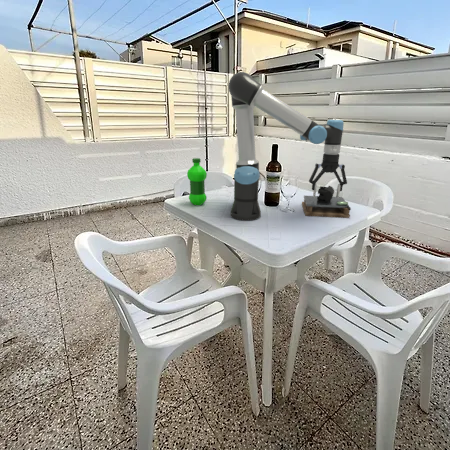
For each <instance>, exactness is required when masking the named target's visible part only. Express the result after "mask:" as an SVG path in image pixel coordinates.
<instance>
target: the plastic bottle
mask: <svg viewBox="0 0 450 450" xmlns="http://www.w3.org/2000/svg"><path fill="white" fill-rule="evenodd" d="M201 161H202V160H201V158H199V157H194V158H192V164H193V165H192V166H191V167H190V168H189V169H188V170H187V171H186V174H187V175H186V176H187V178H188V180H189V190H190V193H189V195H188V200H189V202H190V203H191V204H192V205H194V206H202V205H203V204H204V203H205V202H206V201H207V195H206V193H205V192H206V190H205V189H206V188H205V185H206V184H205V181H206V179H207V176H208V175H207V171H206V169H205V168H203V167H202V166H201V165H200V163H201Z"/></svg>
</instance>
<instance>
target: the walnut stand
mask: <svg viewBox="0 0 450 450" xmlns="http://www.w3.org/2000/svg"><path fill="white" fill-rule="evenodd" d="M301 206H302V207H301V208H302V210H303V214H304V215H305V217H318V218H319V217H322V218H338V219H339V218H341V219H342V218H343V219H350V217H351V215H350V211H351V210H352V208H351V206H349V207H348V208H338V207H315V206H307V205H306V202H305V199H304V198H303V201H301Z"/></svg>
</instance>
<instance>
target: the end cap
mask: <svg viewBox="0 0 450 450" xmlns="http://www.w3.org/2000/svg"><path fill="white" fill-rule="evenodd" d="M317 194H318V195H316V196H317V199H318V200H317V202H322V203H327V202H328V201H330V200H331V199H332V197H334V194H335V189H334V187H333V186H331V185H328V186H320V187H319V189H318V190H317Z"/></svg>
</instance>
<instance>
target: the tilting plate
mask: <svg viewBox="0 0 450 450" xmlns="http://www.w3.org/2000/svg"><path fill="white" fill-rule="evenodd" d="M317 196H318V195H315V197H313V195H303V200H304V199H305V202H306V205H307V206H315V207H338V208H348V207H350V205H349V201H346V200H345V198H343V197H342V196H339V198H337V197H336V196H333V197H332V199H331V200H330V201H328V202H327V203H322V202H317V200H318V199H317Z"/></svg>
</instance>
